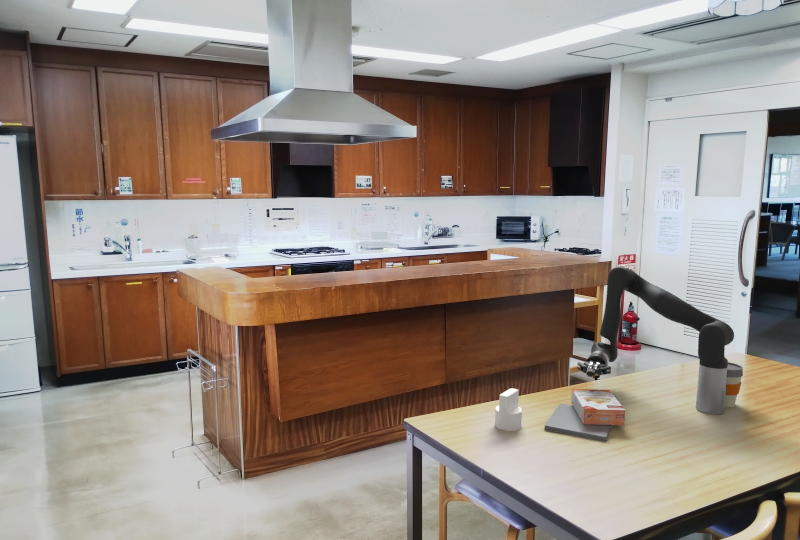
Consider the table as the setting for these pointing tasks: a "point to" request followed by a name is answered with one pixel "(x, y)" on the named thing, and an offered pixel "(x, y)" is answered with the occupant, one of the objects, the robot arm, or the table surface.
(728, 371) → the reusable coffee cup
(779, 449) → the table surface
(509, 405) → the cylinder with rectangular tab
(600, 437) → the board
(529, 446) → the table surface
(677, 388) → the table surface
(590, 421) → the cracker box
